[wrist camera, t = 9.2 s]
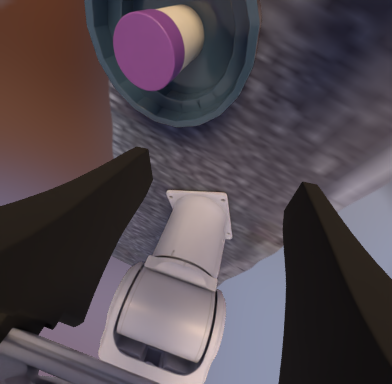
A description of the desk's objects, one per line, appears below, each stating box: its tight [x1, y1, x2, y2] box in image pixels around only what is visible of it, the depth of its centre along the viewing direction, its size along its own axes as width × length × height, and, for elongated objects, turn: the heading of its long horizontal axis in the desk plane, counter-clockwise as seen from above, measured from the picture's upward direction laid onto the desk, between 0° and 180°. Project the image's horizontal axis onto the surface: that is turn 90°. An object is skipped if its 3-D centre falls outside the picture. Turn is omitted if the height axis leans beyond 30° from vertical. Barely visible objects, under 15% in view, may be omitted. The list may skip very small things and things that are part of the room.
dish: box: [84, 0, 262, 127], centre depth 12 cm, size 10×10×4 cm
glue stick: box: [113, 5, 204, 91], centre depth 11 cm, size 3×3×6 cm
